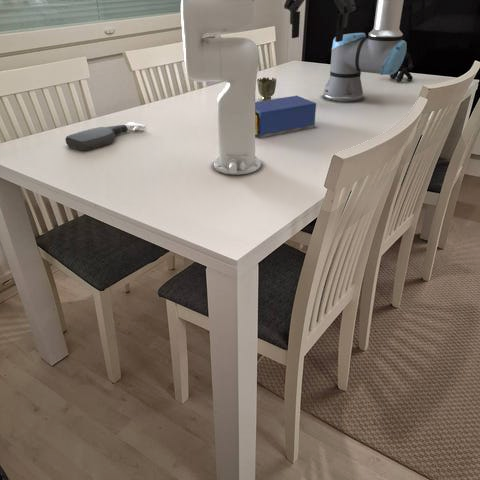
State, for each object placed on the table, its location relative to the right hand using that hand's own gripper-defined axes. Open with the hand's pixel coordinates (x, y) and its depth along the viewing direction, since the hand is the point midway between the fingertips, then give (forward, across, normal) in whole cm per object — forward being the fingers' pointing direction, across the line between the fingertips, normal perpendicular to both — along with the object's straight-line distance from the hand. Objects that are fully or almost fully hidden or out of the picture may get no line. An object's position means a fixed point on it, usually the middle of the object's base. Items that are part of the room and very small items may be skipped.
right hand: (316, 39), depth 123 cm
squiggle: (+28, -6, +90) cm, 95 cm away
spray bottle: (+28, -51, -36) cm, 69 cm away
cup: (+28, -36, +28) cm, 53 cm away
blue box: (+28, -13, +3) cm, 31 cm away
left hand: (-3, -33, +4) cm, 34 cm away
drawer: (+27, -16, -2) cm, 31 cm away
